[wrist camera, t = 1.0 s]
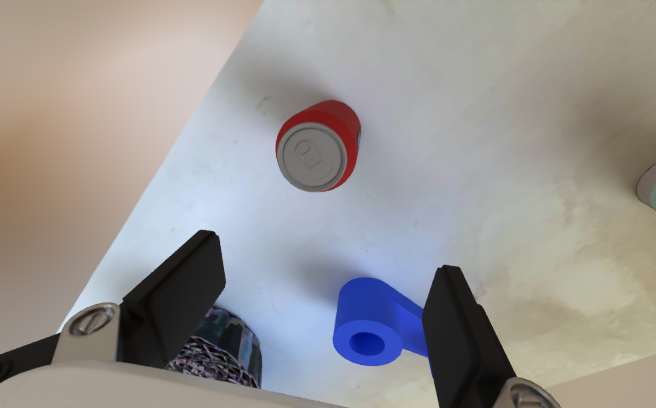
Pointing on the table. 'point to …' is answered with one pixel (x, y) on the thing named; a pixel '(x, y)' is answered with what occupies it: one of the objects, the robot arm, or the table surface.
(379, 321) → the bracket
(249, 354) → the decorative bowl
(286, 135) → the beverage can
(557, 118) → the table surface
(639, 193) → the coffee cup
